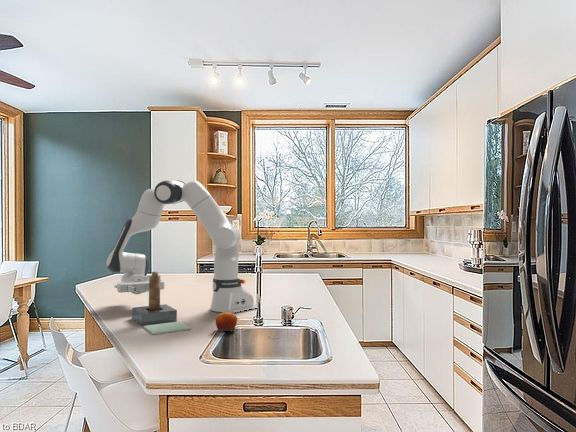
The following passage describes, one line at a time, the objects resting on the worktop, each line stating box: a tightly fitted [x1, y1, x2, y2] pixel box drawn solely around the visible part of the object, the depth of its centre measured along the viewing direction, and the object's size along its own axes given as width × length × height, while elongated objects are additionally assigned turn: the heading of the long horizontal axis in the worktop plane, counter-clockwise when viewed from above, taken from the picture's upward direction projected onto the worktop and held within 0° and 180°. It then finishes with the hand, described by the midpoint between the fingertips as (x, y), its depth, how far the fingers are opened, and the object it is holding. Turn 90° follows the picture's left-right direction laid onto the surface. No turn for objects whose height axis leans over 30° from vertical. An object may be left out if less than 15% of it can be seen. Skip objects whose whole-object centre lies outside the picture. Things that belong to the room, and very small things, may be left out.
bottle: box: [148, 271, 161, 311], centre depth 174 cm, size 4×4×20 cm
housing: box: [131, 303, 178, 327], centre depth 174 cm, size 14×14×4 cm
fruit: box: [215, 312, 238, 333], centre depth 159 cm, size 8×8×8 cm
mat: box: [143, 321, 191, 336], centre depth 161 cm, size 14×12×1 cm
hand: (145, 288), depth 185 cm, fingers open, 8 cm apart
